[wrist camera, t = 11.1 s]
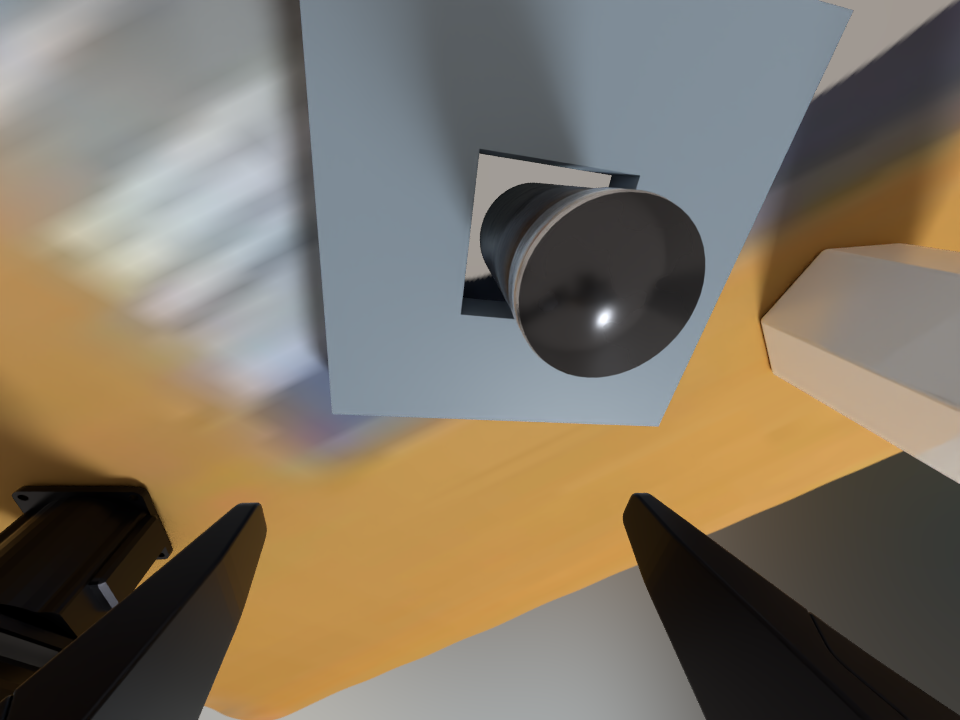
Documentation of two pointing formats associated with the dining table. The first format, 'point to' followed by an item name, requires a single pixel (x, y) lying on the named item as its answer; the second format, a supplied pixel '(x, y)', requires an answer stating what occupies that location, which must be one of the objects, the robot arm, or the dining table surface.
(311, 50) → the mount block
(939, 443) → the jar
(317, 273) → the dining table surface
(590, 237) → the lens
